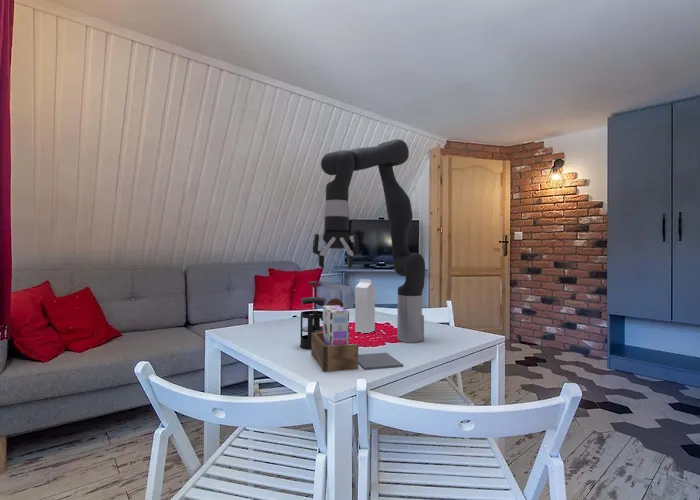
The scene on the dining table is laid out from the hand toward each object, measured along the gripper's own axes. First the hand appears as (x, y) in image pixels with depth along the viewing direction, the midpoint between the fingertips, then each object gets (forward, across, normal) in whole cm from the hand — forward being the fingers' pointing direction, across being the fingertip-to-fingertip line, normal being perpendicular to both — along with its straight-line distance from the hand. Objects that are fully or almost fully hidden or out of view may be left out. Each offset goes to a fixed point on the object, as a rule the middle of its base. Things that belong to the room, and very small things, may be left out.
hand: (335, 268), depth 122 cm
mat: (+28, -12, +4) cm, 31 cm away
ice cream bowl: (+28, -7, -33) cm, 44 cm away
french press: (+29, +3, -20) cm, 35 cm away
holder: (+29, 0, 0) cm, 29 cm away
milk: (+28, -22, -38) cm, 52 cm away
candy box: (+29, 0, 0) cm, 29 cm away
